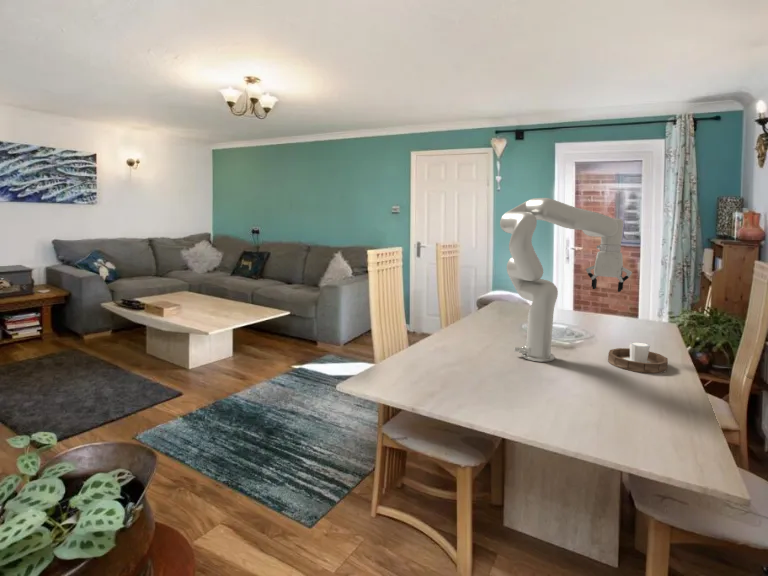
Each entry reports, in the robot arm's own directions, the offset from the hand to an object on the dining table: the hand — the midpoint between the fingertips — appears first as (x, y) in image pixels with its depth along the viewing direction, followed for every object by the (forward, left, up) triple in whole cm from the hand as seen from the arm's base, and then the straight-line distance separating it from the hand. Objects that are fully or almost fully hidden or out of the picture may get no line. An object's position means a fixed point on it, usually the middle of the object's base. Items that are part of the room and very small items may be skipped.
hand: (606, 290), depth 190 cm
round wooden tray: (+6, -17, -26) cm, 32 cm away
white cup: (+6, -17, -25) cm, 31 cm away
